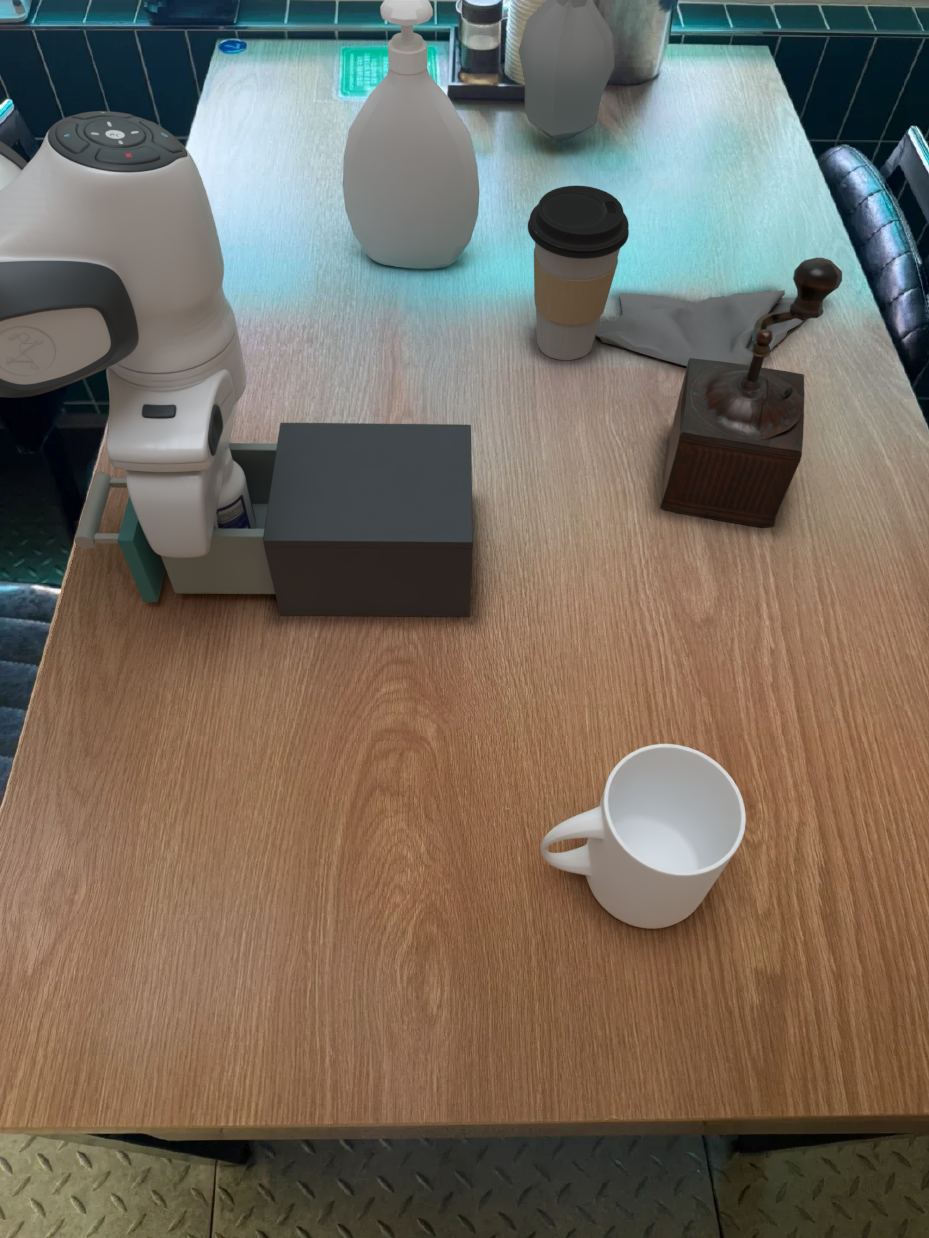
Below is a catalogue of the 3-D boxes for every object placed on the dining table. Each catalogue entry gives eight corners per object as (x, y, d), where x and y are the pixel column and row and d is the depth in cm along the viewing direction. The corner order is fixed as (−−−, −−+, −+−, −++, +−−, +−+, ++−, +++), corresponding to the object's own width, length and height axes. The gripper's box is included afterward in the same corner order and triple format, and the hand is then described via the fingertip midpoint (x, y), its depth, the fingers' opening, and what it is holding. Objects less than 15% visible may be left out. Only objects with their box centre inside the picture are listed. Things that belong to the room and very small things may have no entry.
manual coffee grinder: (781, 532, 84) (853, 372, 70) (657, 510, 85) (702, 348, 71) (784, 415, 93) (848, 251, 78) (671, 397, 94) (715, 232, 80)
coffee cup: (627, 351, 98) (653, 218, 86) (555, 384, 95) (571, 251, 83) (571, 303, 103) (588, 170, 90) (500, 333, 99) (508, 199, 87)
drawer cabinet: (280, 615, 78) (262, 540, 70) (294, 501, 85) (280, 422, 77) (469, 616, 78) (472, 542, 70) (468, 503, 85) (470, 424, 78)
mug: (528, 816, 68) (541, 747, 59) (692, 810, 69) (729, 740, 60) (539, 937, 63) (555, 880, 54) (716, 929, 64) (760, 872, 55)
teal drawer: (87, 602, 77) (55, 540, 71) (115, 498, 84) (89, 433, 77) (321, 603, 78) (311, 542, 71) (331, 500, 84) (322, 435, 78)
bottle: (497, 147, 121) (511, -142, 97) (543, 111, 127) (568, -171, 102) (572, 175, 118) (607, -117, 93) (617, 138, 123) (661, -148, 98)
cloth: (599, 377, 96) (602, 359, 94) (582, 293, 104) (585, 275, 102) (850, 373, 97) (858, 355, 95) (815, 291, 105) (822, 273, 103)
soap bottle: (479, 238, 109) (490, -27, 87) (474, 280, 105) (484, 12, 83) (354, 230, 110) (333, -36, 88) (344, 272, 105) (319, 2, 83)
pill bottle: (199, 507, 80) (176, 429, 73) (261, 509, 80) (244, 432, 73) (187, 555, 77) (161, 479, 70) (251, 557, 77) (232, 482, 70)
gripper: (158, 272, 70) (196, 413, 82) (99, 471, 59) (153, 603, 70) (243, 274, 71) (269, 414, 82) (202, 472, 59) (239, 604, 70)
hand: (215, 502), depth 76 cm, fingers closed on pill bottle, 5 cm apart
